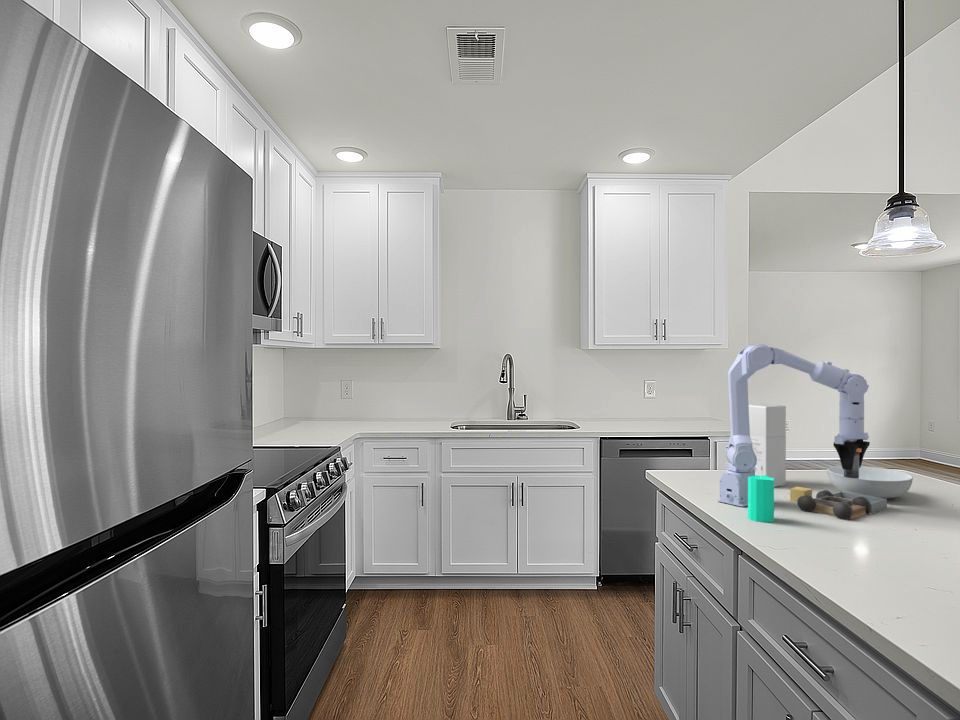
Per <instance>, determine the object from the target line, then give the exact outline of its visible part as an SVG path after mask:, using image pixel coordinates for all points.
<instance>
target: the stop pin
mask: <svg viewBox="0 0 960 720" xmlns="http://www.w3.org/2000/svg"><path fill="white" fill-rule="evenodd" d="M861 449H862V448H857V450H856V452H855V456H854V462H853V468H852V470H846V469H844V477H847V478H859V452H861Z"/></svg>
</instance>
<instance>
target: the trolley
mask: <svg viewBox="0 0 960 720" xmlns="http://www.w3.org/2000/svg"><path fill="white" fill-rule="evenodd" d="M832 493H833V492H831V491H830V490H825V489H824V490H820V491H818V492H817V493H816V495H815V498H813V496H812V497H811V496H809V495H804V496H801V497H799V498H798V500H797V502H796V503H797V507H798V508H799V509H800V510H801V511H802V512H805V513H807V512H815V513H818V514H819V513H820V514H824V515H829V516H834V517H836V518H838V519H839V520H847V519H848V520H853V519H855V518H859V517H862V516H866V514H867V513H866V512H868V511H869V510H870V508H871V504H870V502H869V500H868V499H866V498H865V497H857V498H854V499H853V500H849V499H843V498H838V497H834V496H833V494H832Z"/></svg>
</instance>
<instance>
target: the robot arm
mask: <svg viewBox="0 0 960 720" xmlns="http://www.w3.org/2000/svg"><path fill="white" fill-rule="evenodd" d="M769 365H783V366H785V367H789V368H791V369H794V370H797V371H799V372H802V373H805V374H808V375H809V377H810V379H811V381H812V382H815V383H817V384H819V385H822V386H825V387H828V388H829V389H830V388H831V389H833V390H836V391H837V392H838V393H839V403H838V405H839V416H838V417H839V418H838V422H839V423H838V424H839V425H838V426H839V429H838V430H839V431H838V432H839V433H838V434H837V435H836V436H835V435H834V437H833V438H834V442H832V443H833V445H832V446H833V447H834V448H835V450H836V453H837V454H838V457H839V460H840V466H842V468H843V469H846V470H852V468H853V462H854V456H855V452H856V450H857V448H862V449H861V452H859V468H860V467H861V466H862V464H863V459H864V457H865V454H866V451H867V449H868V448H869V446H870V441H867V440H869V438H870V436H869V433H868V432H865V394H866V392H868V390H869V387H870V386H869V384H868V382H867V380H866V379H865V378H864V376H862V375H860V374H855V373H851V372H850V369H847V368H839V367H837V366H834V365H833V362H830V361H827V360H826V361H825V362H824V361H818V362H815V363H813V362H811V361H809V360H806V359H804V358H803V357H800V356H797V355H795V354H792V353H790V352H788V351H786V350H784V349H780V348H777V347H773V346H768V345H767V344H749V345H746V347H744V348H743V349H742V350H740V351H739V352H738V354H737V355H736V358H735V360H734V362H733V363H732V364H731V366H730V368H729V369H728V373H727V382H728V383H727V384H728V400H729V401H728V404H729V407H728V408H729V426H730V427H729V429H730V436H729V438H728V447H727V448H726V451H725V452H726V453H725V457H726V460H727V461H728V462H729V463H728V465H727V466H726V471H725V473H723V474H722V475H721V476H720V477H719V498H718V499H716V502H720V503H724V504H728V505H732V506H737V507H742V508H743V507H744V508H745V507H748V477H749V476H754V475H755V468H754V467H755V465H756V463H757V457H756V455H755V453H754V451H753V446H752V441H751V438H750V426H749V404H750V403H749V388H748V386H749V385H748V379H749V378H751V376H753V375H754V374H755V373H757V371H759V370H762V369H764V368H766V367H768V366H769Z"/></svg>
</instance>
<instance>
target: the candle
mask: <svg viewBox="0 0 960 720" xmlns="http://www.w3.org/2000/svg"><path fill="white" fill-rule="evenodd" d="M747 519H748V520H750V521H753V522H757V523H772V522H773V523H774V521H775V487H774V478H770V477H768V476H764V475H754V476H749V477H748V506H747Z"/></svg>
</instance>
